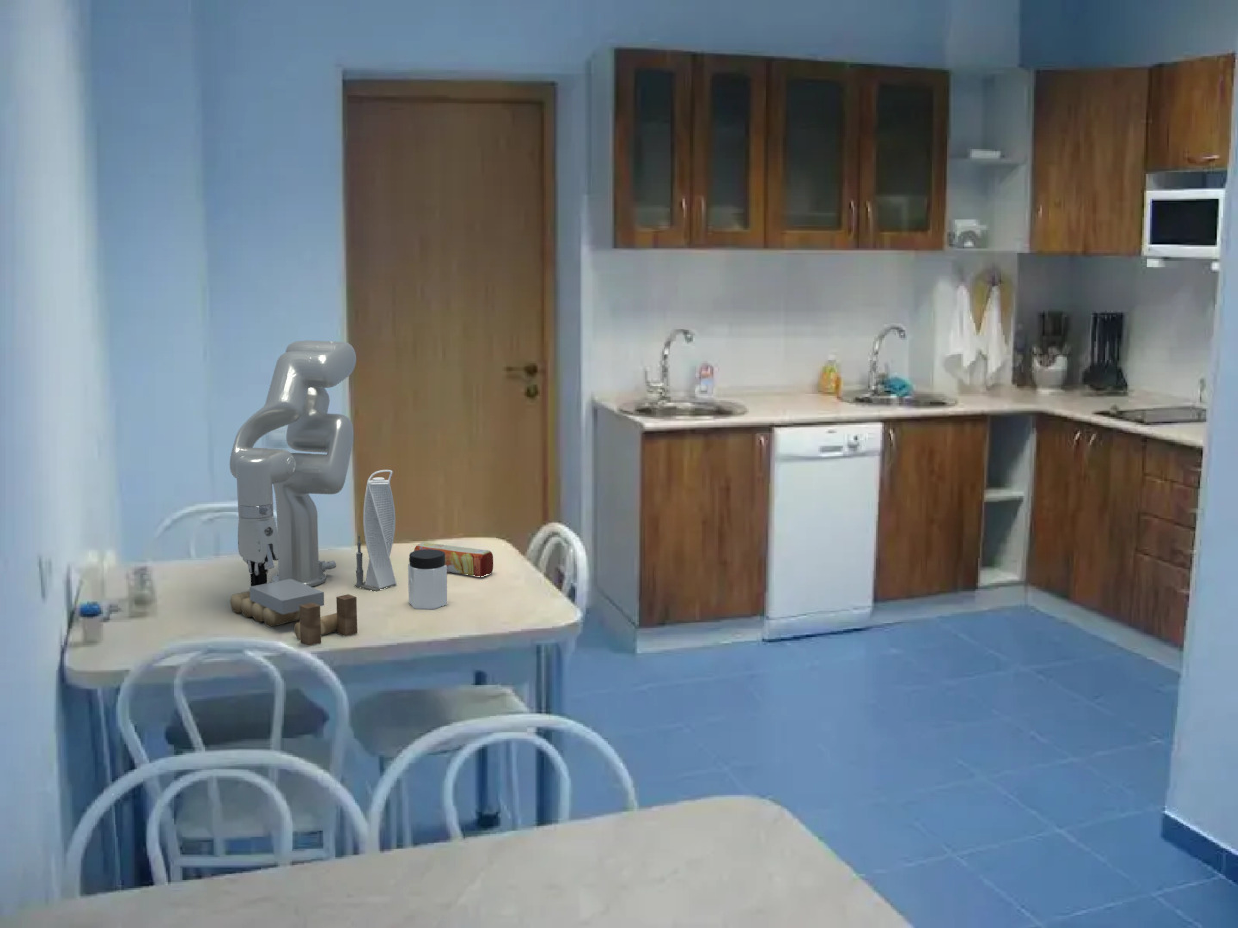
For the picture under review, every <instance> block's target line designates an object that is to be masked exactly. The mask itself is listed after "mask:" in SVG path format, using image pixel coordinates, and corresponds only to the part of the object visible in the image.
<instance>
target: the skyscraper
mask: <svg viewBox="0 0 1238 928" xmlns="http://www.w3.org/2000/svg"><path fill="white" fill-rule="evenodd" d="M386 472H387V473H389V477H388V479H385V478H384V477H374V476H375V475H376V474H379V473H386ZM393 473H394V472H393V470H391V469H380V470H377V471H374V472H373V473H371V474H370V476H369V477H368V479H367V481H366V482H367V483H366V489H365V495H364V503H363V511H362V512H363V514H362V515H363V516H362V517H363V520H362V521H363V532H364V533H363V535H364V540H365V545H366V550H367V553H368V558H369V559H368V564H367V565H368V566H367V570H366V576H365V581H364V569H363V552H362V550H361V549H362V547H361V544H362V542H361V537H360V534H358V535H357V537H358V538H357V540H358V541H357V543H356V544H357V552H355V556H356V570H355V575H356V584H354V587H355V586H356V587H355V588H358V587H361V588H360V589H362V588H364V589H363V590H366V589H368V591H370V590H372V591H371V592H374V591H376V592H379V591H381V590H380V589H383V590H385V589H384V588H386V587H389V588H391V587H390V586H393V587H395V585H396V586H397V582H396V577H395V573H394V569H393V565H392V560H391V557H390V556H391V553H392V550H393V549H392V548H393V544H394V540H395V531H396V508H395V503H394V502H395V501H394V496H393V492H392V487H391V478H392V477H393ZM386 589H387V588H386ZM378 590H379V591H378Z"/></svg>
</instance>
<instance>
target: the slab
mask: <svg viewBox="0 0 1238 928" xmlns="http://www.w3.org/2000/svg"><path fill="white" fill-rule="evenodd" d="M249 591H250V600H251V601H253V602H256V603H258V604H260V605H262V606H265V607H267V608H269V609H271V610H274V611H276V612H278V613H280V614H287V613H292V612H296V611H300V607H299V605H304V604H308V603H314V604H317V605H320V607H323V606H325V592H324V591H323V590H319V589H317V588H314V587H313V586H312V587H310V586H308V585H305V584H303V583H300V582H298V581H295V580H293V579H287V580H282V581H277V582H272V581H271V582H267V583H266V584H261V585H256V586H251V585H250V586H249Z"/></svg>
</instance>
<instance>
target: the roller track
mask: <svg viewBox="0 0 1238 928" xmlns="http://www.w3.org/2000/svg"><path fill="white" fill-rule="evenodd" d="M229 602H230V607H231V609H232V612H234V613H236V614H238V613H239V614H240V613H242V615H243V616H244V617H245V618H246V619H247V618H253V619H254V621H255V622H257V623H261V622H264V624H265V625H266V626H267V627H269V628H270V627H274V626H278V625H283V624H287V623H291V622H295V621H300V611H296V612H292V613H287V614H280V613H278V612H276V611H274V610H271V609H269V608H267V607H265V606H262V605H260V604H258V603H256V602H253V601H251V600H250V590H248V591H244V592H240V593H239V592H238V593H236V594H232V595H231V596H230V599H229Z"/></svg>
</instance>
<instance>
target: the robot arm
mask: <svg viewBox="0 0 1238 928" xmlns="http://www.w3.org/2000/svg"><path fill="white" fill-rule="evenodd" d="M356 363H357V355H356V351H355V349H354V347H353V345H351V344H350V343H349V342H347V341H346V342H345V341H333V340H332V341H330V340H329V341H328V340H327V341H326V340H324V341H323V340H297V341H294V342H291V343H289V344H288V346H286V348H285V352H284V353H282V354H280V355H279V357H278V359H277V360H276V364H275V366H274V367H275V368H274V369H273V374H272V378H271V382H270V385H269V390H268V392H267V396H266V399H265V403H264V405H263V407H261V408H259V410H257V411H256V412H255V413H253V414H252V415H251V416H250V417H249V418H248V419H247V420H246V421H245V422H244V423H243V424H242V425H241V427H240V428H239V429H238V432H237V433H236V435H235V439H234V443H233V445H232V447H231V448H232V449H231V452H230V456H229V469H230V473H231V475H232V476H233V477H234V478H236V491H237V492H236V494H237V495H236V496H237V515H238V523H237V524H238V525H237V548H238V549H237V550H238V554H239V556H240V557H241V558H242V560H243V562H245V563H246V564H247V567H248V569H247V570H248V573H249V574H250V575H249V576H250V587H251V586H256V585H261V584H266V583H268V573H269V570H271V569H274V567H275V565H274V561H277V562H278V566H277V567H278V573H277V574H275V575H274V576H273V577H272V578H271V579H272V580H271V582H277V581H282V580H287V579H293V580H295V581H298V582H300V583H303V584H305V585H308V586H310V587H312V588H313V587H316V586H319V585H322V584H323V583H325V582H326V577H327V576H326V574H325V573H324V572H326V570H332V569H336V568H337V563H336V561H335V560H330V561H325V560H320V557H319V556H320V555H319V530H318V529H319V525H318V523H319V522H318V521H319V520H318V509H317V506H316V504H315V502H314V500H313V499H312V497H311V495H312V494H313V495H336V494H338V493H340V492H341V491H342V490H343V488H344V485H345V482H346V479H347V475H348V469H349V464H350V459H351V453H352V448H353V442H354V426H353V423H352V421H351V420H350V418H349V417H348V416H347V415H343V414H341V413H328V410H329V405H330V395H329V393H328V392H327V390H326V389H328V388H330V389H331V388H333V387H335V386H337V385H339V384H340V383H341V382H343V381H344V380H345V379H348V377H349V376H351V375H352V373H353V372H354V370H355V367H356ZM285 426H287V428H286V436H285V437H286V444H287V446H289V448H290V449H292V450H293V451H297V452H290V451H288V450H286V449H282V448H281V449H280V448H265V447H254V446H255V445H256V443H257V442H258V440H259V439H260V438H262V437H264V436H265V435H266V434H268V433H271V432H273V431H275V430H278V429H280V428H283V427H285ZM304 452H305V453H304ZM306 452H307V453H306ZM323 453H324V454H323ZM273 490H274V491H273ZM273 493H274V494H273ZM310 494H311V495H310ZM273 495H274V496H275V497H273ZM274 498H275V508H276V520H275V517H274Z"/></svg>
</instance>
